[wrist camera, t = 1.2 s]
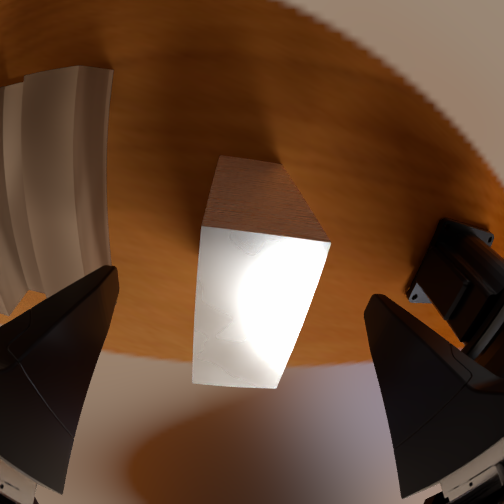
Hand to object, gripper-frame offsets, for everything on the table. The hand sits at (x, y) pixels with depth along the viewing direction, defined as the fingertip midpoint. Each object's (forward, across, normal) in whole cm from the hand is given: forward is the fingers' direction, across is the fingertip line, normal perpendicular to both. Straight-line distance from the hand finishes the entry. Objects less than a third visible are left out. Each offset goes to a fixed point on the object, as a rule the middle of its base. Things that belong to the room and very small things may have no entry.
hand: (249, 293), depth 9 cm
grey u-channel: (+6, +13, 0) cm, 14 cm away
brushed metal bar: (+6, 0, 0) cm, 6 cm away
